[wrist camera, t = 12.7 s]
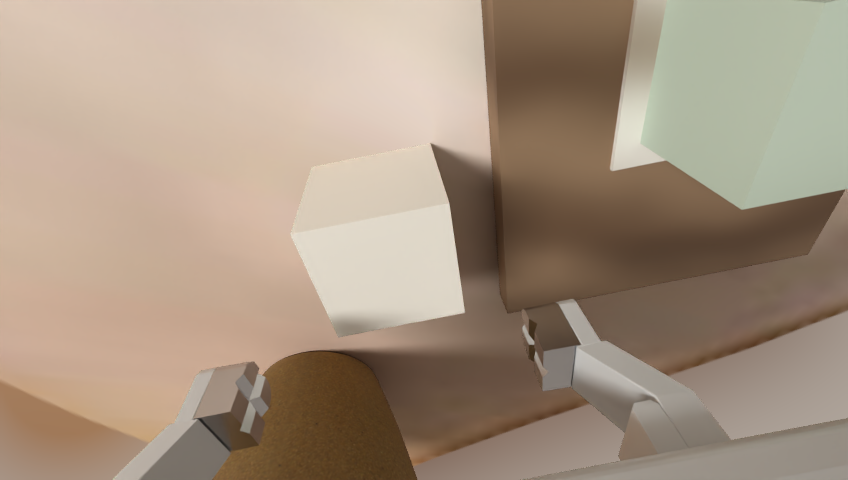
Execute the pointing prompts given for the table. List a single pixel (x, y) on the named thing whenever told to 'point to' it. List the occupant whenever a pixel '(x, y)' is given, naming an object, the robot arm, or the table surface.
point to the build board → (604, 163)
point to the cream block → (379, 241)
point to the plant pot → (323, 426)
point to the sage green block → (753, 97)
